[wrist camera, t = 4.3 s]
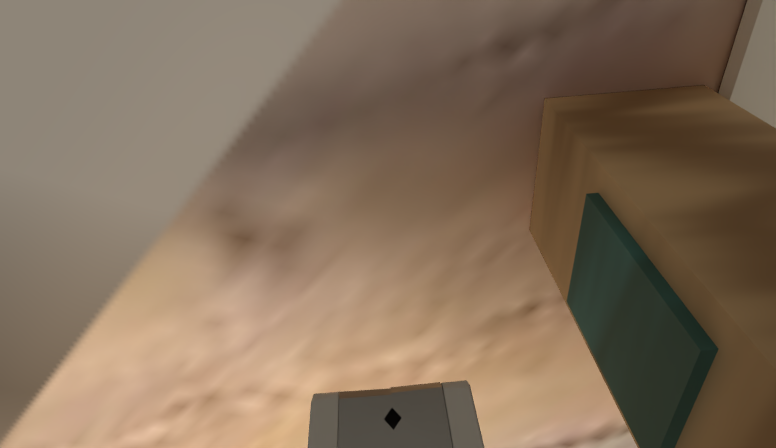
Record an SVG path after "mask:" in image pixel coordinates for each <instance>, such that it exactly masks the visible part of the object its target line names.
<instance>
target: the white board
mask: <svg viewBox="0 0 776 448" xmlns="http://www.w3.org/2000/svg"><path fill="white" fill-rule="evenodd" d="M718 94H720V95H721V96H723V97H725V98H726V99H728V100H730V101H731V102H733V103H735V104H736V105H738V106H740V107H741V108H743V109H745V110H746V111H748V112H750V113H751V114H753V115H754V116H756V117H758V118H759V119H761V120H763V121H764V122H766V123H768V124H769V125H771V126H773V127H774V128H776V0H747V3H746V6H745V10H744V13H743V16H742V19H741V22H740V25H739V29H738V32H737V35H736V38H735V41H734V44H733V48H732V51H731V54H730V57H729V60H728V64H727V67H726V70H725V73H724V76H723V79H722V83H721V86H720V89H719V92H718Z"/></svg>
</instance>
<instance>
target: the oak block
mask: <svg viewBox="0 0 776 448" xmlns="http://www.w3.org/2000/svg"><path fill="white" fill-rule="evenodd" d="M530 232H531V234H532V236H533V238H534V240H535V242H536V244H537V246H538V248H539V250H540V252H541V254H542V256H543V258H544V260H545V262H546V264H547V266H548V268H549V270H550V272H551V274H552V276H553V278H554V280H555V282H556V284H557V286H558V288H559V290H560V292H561V294H562V296H563V298H564V300H565V302H566V304H567V306H568V308H569V310H570V312H571V314H572V316H573V318H574V320H575V322H576V324H577V326H578V328H579V330H580V332H581V334H582V336H583V338H584V340H585V342H586V344H587V346H588V348H589V350H590V352H591V354H592V356H593V358H594V360H595V362H596V364H597V366H598V369H599V371H600V373H601V375H602V377H603V379H604V381H605V383H606V385H607V387H608V389H609V391H610V393H611V395H612V397H613V399H614V401H615V403H616V405H617V407H618V409H619V411H620V413H621V415H622V417H623V419H624V421H625V423H626V425H627V427H628V429H629V431H630V433H631V435H632V437H633V439H634V441H635V443H636V445H637V447H638V448H776V128H774V127H773V126H771V125H769V124H768V123H766V122H764V121H763V120H761V119H759V118H758V117H756V116H754V115H753V114H751V113H750V112H748V111H746V110H745V109H743V108H741V107H740V106H738V105H736V104H735V103H733V102H731V101H730V100H728V99H726V98H725V97H723V96H721V95H720V94H718V93H716V92H715V91H713V90H712V89H710V88H708V87H707V86H705V85H700V86H688V87H676V88H664V89H652V90H640V91H628V92H616V93H604V94H592V95H580V96H568V97H556V98H545V100H544V109H543V117H542V126H541V135H540V143H539V152H538V161H537V170H536V178H535V187H534V196H533V204H532V213H531V222H530Z"/></svg>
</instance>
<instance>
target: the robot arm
mask: <svg viewBox="0 0 776 448" xmlns="http://www.w3.org/2000/svg"><path fill="white" fill-rule="evenodd" d="M308 448H484V444H483V440H482V436H481V431H480V427H479V423H478V418H477V414H476V410H475V406H474V401H473V397H472V393H471V388H470V385H469V383H468V382H467V381H466V380H464V381H455V382H445V383H440V382H437V383H428V384H418V385H409V386H399V387H390V388H389V389H374V390H359V391H344V392H330V393H319V394H314V395H313V398H312V401H311V411H310V424H309V437H308Z"/></svg>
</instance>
